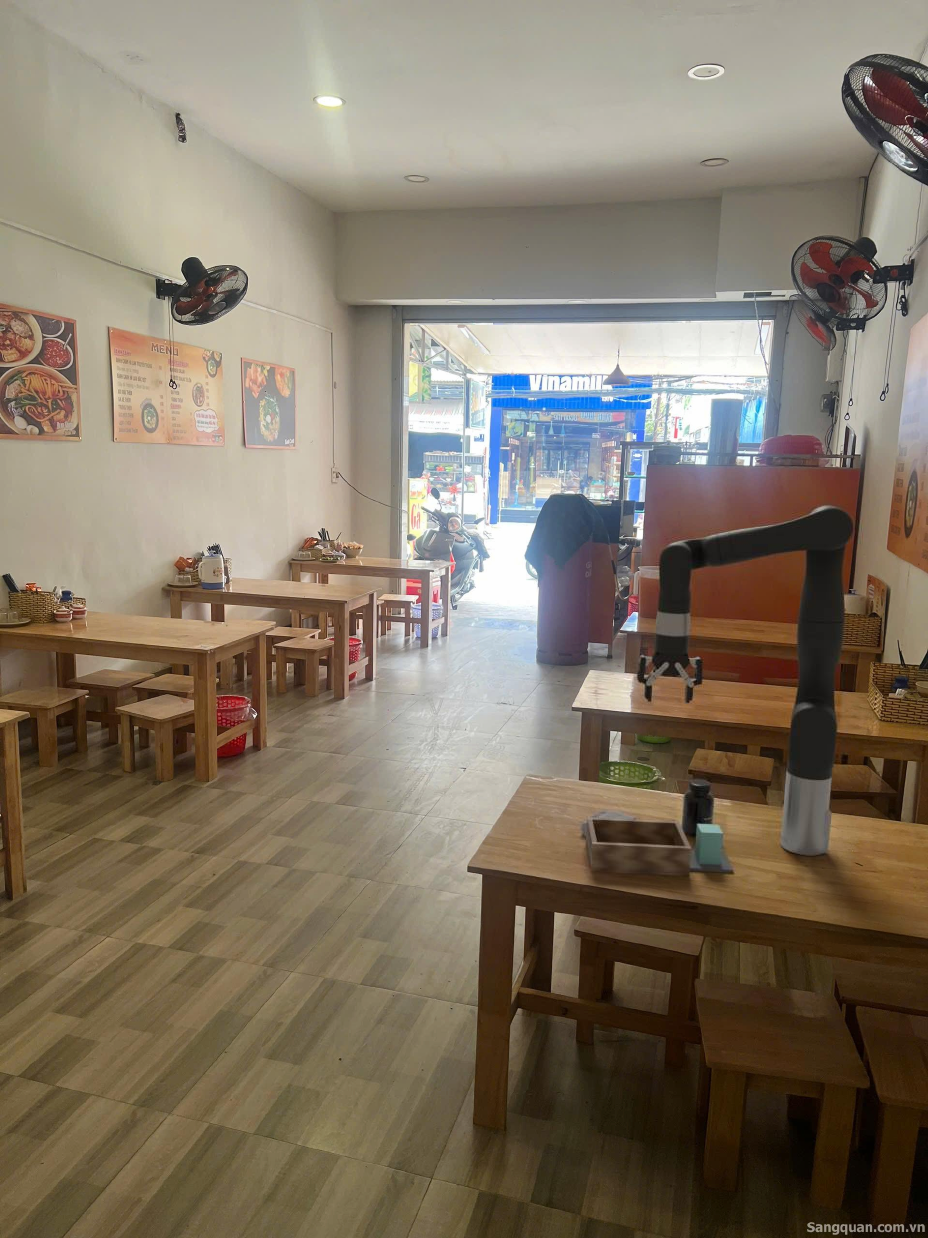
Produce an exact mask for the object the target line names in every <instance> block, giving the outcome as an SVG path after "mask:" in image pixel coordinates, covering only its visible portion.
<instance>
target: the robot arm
mask: <svg viewBox="0 0 928 1238" xmlns="http://www.w3.org/2000/svg"><path fill="white" fill-rule="evenodd" d="M854 527H855V526H854V521H853V519H852V517H851V516H850V514H849V513H848V512H847V511H846V510H845V509H843V508H841V507H838V506H836V505H829V504H828V505H821V506H819V507H817V508H815V509H814V510H812V511H811V512H810V513H809V514H807V515H806V514H805V515H804V516H802V517H799V518H795V519H794V520H790V521H784V522H781V523H777V524H771V525H766V526H765V525H764V526H755V527H748V528H742V529H741V528H740V529H734V530H730V531H726V532H720V533H716V534H712V535H708V536H705V537H701V538H693V539H685V540H680V541H675V542H671V543H669V544H668V545H666V546H665V547H664V548H663V550H662V551H661V552H660V556H659V564H658V575H659V579H658V581H659V590H658V591H659V592H658V596H657V597H658V599H657V600H658V602H657V614H656V617H655V618H656V620H655V628H654V629H655V630H654V631H655V632H654V645H653V647H654V648H653V654H652V656H645V655H644V654H641V655H639V657H638V665H637V674H636V680H637V681H638V683H640V684H643V685H644V694H643V695H644V698H645V699H646V701H647V702H649V703H651V702H652V697H653V685H652V684H653V683H654V682H655V681H656V680H657V679H658V678H660V676H663V677H670V676H671V677H674V678H677V677H679V676H681V678H682V679H683V680H684V682H685V683H686V685H685V689H684V691H685V692H684V702H685V704H690V702H691V701H693V699H694V698H693V697H694V687H695V686H700V685H702V684H703V660H702V658H701V657H699V656H695V657H692V658H691V657H689V646H690V645H689V644H690V633H691V613H690V612H691V597H692V595H691V589H690V586H691V585H690V584H691V575H692V574H691V573H692V571H694V570H698V569H703V568H707V567H712V568H714V567H715V568H716V567H723V566H727V565H733V564H739V563H743V562H749V561H752V560H757V559H761V558H765V557H768V556H773V555H774V556H775V555H779V554H785V553H792V552H794V553H795V552H802V551H803V552H804V551H805V574H804V580H803V583H802V589H801V595H800V601H799V609H798V616H797V617H798V619H797V631H796V649H797V663H798V664H797V665H798V684H797V690H796V694H795V700H794V705H793V708H792V712H791V718H790V728H789V738H788V739H789V740H788V749H787V750H788V753H787V760H786V761H787V762H786V773H785V774H786V775H785V787H784V798H783V808H782V809H783V810H782V822H781V831H780V843H779V844H780V846H781V847H782V848H783V849H785V850H786V851H788V852H790V853H793V854H798V855H801V856H812V857H813V856H819V855H822V854H829V848H830V847H829V846H830V836H831V835H830V834H831V824H832V816H833V814H832V811H831V810H830V801H831V800H830V798H831V787H832V786H831V785H832V776H833V768H834V763H835V753H836V744H837V736H838V735H837V734H838V733H837V732H838V721H837V715H836V705H835V703H836V702H835V679H836V674H837V673H836V672H837V669H838V665H839V663H840V658H841V653H842V648H843V641H844V634H845V619H846V616H845V615H846V606H845V603H846V602H845V591H844V590H845V589H844V583H843V565H844V559H845V552H846V547H847V544H848V542H849V541H850V540H851V538H852V536H853V533H854V529H855V528H854ZM650 663H652V664H653V666H654V668H653V669H652V670H651V671H650V672H649V674H648V675H647V676H646V677H645V674H646V672H645V671H646V667H648V666H649V664H650ZM690 664H691V666H692V667H693V668H694V678H692V679H691V678H690V676H689V675H688V673H687V672H686V671H685V670H686V669H687V668H688V666H689V665H690Z"/></svg>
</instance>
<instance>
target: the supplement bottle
mask: <svg viewBox="0 0 928 1238" xmlns="http://www.w3.org/2000/svg"><path fill="white" fill-rule="evenodd" d="M711 791H712V783H711V782H710V781H708V780H705V779H699V778H696V779H695V778H694V779H690V780H689V784H688V790H687V791H686V792H685V793H684V795H683V802H682V804H683V805H682V813H681V815H682V817H681V827H682V829H683V832H684V834H685V835H688V836H691V837H694V838H696V831H697V824H713V821H714V812H715V811H714V808H715V798H714V795H712V793H711ZM713 825H714V824H713Z"/></svg>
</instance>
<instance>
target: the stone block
mask: <svg viewBox="0 0 928 1238" xmlns="http://www.w3.org/2000/svg"><path fill="white" fill-rule="evenodd" d="M589 818H611V819H634V820H637V817H635V816H632V815H629V814H626V813H624V812H621V811H618V810H617V811H616V810H611V811H610V810H605V811H604V810H603V811H598V812H597V813H594V814H593V815H591V816H590V817H589ZM581 832H582V835H583V836H584V837H586V833H587V820H585V821H583V822H582V823H581Z"/></svg>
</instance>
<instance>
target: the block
mask: <svg viewBox="0 0 928 1238" xmlns="http://www.w3.org/2000/svg"><path fill="white" fill-rule="evenodd" d="M723 842H724V832H723V830H722V829H721V827H720V825H719V824H697V831H696V837H695V849H694V850H695V856H696V858H697V860H698V862H699V864H713V865H721V856H722V852H723Z"/></svg>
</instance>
